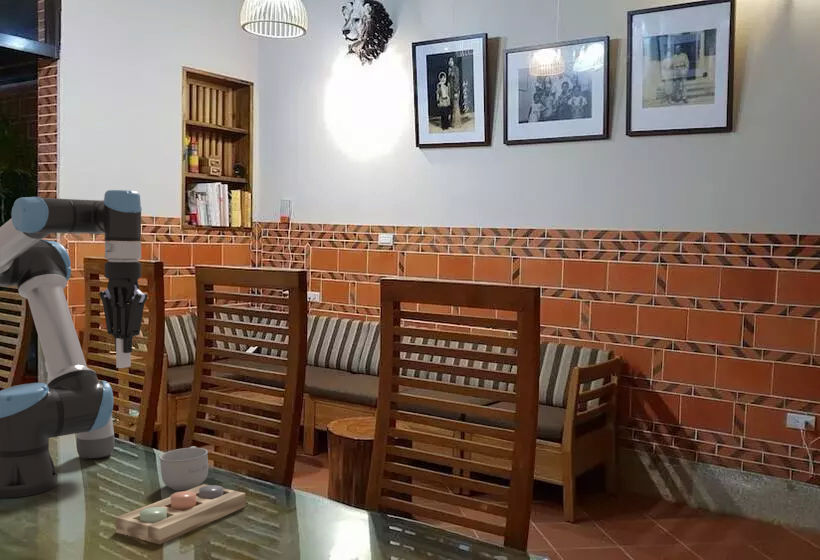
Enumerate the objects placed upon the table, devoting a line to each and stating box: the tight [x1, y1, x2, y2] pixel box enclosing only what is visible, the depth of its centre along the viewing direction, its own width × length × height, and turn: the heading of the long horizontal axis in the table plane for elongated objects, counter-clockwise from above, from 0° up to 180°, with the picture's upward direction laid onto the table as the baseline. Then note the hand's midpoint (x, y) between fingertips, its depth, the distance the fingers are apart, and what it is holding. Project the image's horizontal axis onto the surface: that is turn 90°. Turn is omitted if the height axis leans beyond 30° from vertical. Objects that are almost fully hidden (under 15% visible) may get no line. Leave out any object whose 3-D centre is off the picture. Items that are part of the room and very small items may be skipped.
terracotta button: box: [170, 490, 196, 511], centre depth 158 cm, size 5×5×3 cm
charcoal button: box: [199, 484, 224, 500], centre depth 165 cm, size 5×5×3 cm
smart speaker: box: [75, 415, 116, 461], centre depth 203 cm, size 10×9×14 cm
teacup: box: [159, 445, 209, 491], centre depth 180 cm, size 14×11×8 cm
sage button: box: [140, 507, 167, 524], centre depth 151 cm, size 5×5×3 cm
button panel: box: [115, 483, 246, 545], centre depth 158 cm, size 12×24×3 cm, turn 151°
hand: (123, 367), depth 170 cm, fingers closed
